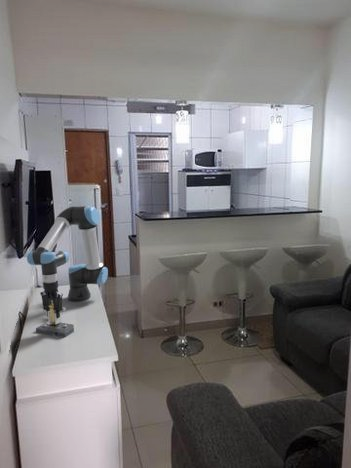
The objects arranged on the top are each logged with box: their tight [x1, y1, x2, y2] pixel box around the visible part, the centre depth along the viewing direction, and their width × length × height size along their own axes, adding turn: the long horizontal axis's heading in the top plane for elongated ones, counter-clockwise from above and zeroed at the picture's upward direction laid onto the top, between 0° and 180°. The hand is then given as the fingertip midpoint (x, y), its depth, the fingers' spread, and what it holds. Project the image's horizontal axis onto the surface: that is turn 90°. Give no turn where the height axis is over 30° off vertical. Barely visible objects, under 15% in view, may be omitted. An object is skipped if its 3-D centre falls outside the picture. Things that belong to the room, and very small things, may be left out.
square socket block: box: [35, 321, 75, 338], centre depth 193 cm, size 7×20×5 cm, turn 67°
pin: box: [48, 303, 57, 327], centre depth 192 cm, size 4×4×15 cm
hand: (54, 322), depth 192 cm, fingers open, 4 cm apart
